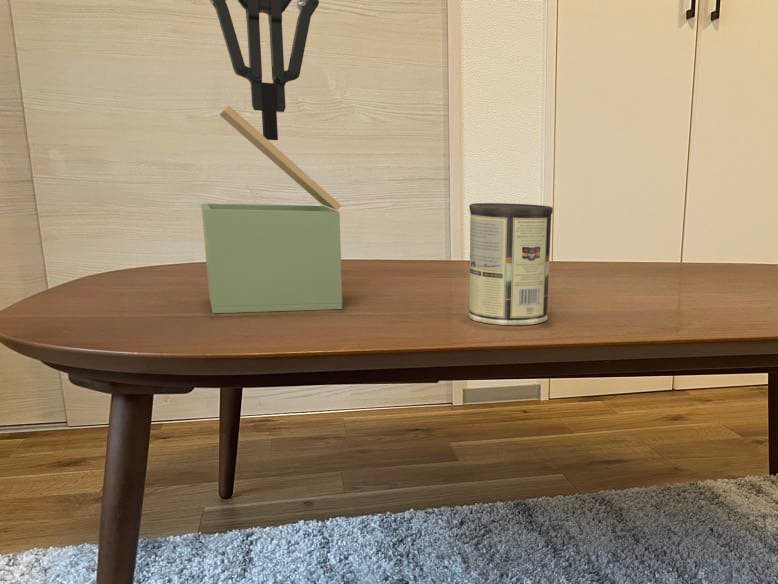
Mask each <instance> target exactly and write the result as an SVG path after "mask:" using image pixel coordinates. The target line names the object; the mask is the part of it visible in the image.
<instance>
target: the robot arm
mask: <svg viewBox="0 0 778 584" xmlns="http://www.w3.org/2000/svg"><path fill="white" fill-rule="evenodd" d="M227 1H228V0H209V2H210V4H211V5H212V6H213V7H214V9H215V12H216V15H217V19H218V22H219V26H220V28H221V32H222V35H223V38H224V42H225V45H226V48H227V52H228V56H229V59H230V62H231V66H232V68H233V72H234V74H235V75H236V76H238V77H241V78H244V79H246V80H248V82H249V84H250V90H251V91H250V94H251V95H250V96H251V107H252V109H253V111H261V123H262V135H263V136H264V137H265V138H266V139H267V140H268V141H279V133H278V130H279V129H278V115H277V113H284V112H285V110H286V89H285V87H286V84H287V83H289V82H291V81H296V80H297V79H298V78H299V77H300V75H301V71H302V70H301V69H302V65H303V59H304V55H305V54H304V53H305V49H306V44H307V39H308V32H309V29H310V25H311V24H310V23H311V19H312V16H313V14H314V12H315V11H316V10H317V8H318V6H319V4H320V1H319V0H296V8H297V10H298V11H299V13H298V15H297V20H296V25H295V30H294V35H293V41H292V46H291V52H290V57H289V62H288V67H287V69H286V70H285V59H284V38H283V37H284V36H283V13H284V12H285V11H286V9H287V8H288V6H289V5H290V4H291V2H292V1H293V0H237V2H238V3H239V5H240V6H241V7H242V9H244V10H245V20H246V21H245V22H246V30H247V31H246V32H247V49H248V50H247V51H248V52H247V53H248V66H247V65H246V64H245V61H244V57H243V53H242V50H241V48H240V43H239V40H238V37H237V34H236V29H235V27H234V23H233V20H232V17H231V13H230V9H229V7H228V4H227ZM262 13H263V14H266V15H267V17H268V19H267V20H268V28H269V29H268V30H269V42H270V43H269V45H270V63H271V65H270V66H271V80H272V82H263V67H262V65H263V64H262V46H261V45H262V44H261V28H260V14H262Z"/></svg>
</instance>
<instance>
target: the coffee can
mask: <svg viewBox="0 0 778 584" xmlns="http://www.w3.org/2000/svg"><path fill="white" fill-rule="evenodd" d="M468 207H469V213H470V216H469V217H470V222H469V223H470V224H469V225H470V226H469V309H468V310H469V311H468V312H469V313H468V318H469V320H472V321H475V322H479V323H482V324H489V325H497V326H498V325H499V326H530V325H538V324H542V323H545V322H547V321H548V318H549V317H548V302H549V279H550V258H551V257H550V254H551V236H552V235H551V234H552V233H551V232H552V214H553V212H554V208H553V207H552V206H551V205H541V204H528V203H506V202H505V203H503V202H501V203H500V202H497V203H496V202H478V203H470V204H469V206H468Z"/></svg>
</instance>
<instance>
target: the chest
mask: <svg viewBox="0 0 778 584" xmlns="http://www.w3.org/2000/svg"><path fill="white" fill-rule="evenodd" d="M201 215H202V226H203V239H204V252H205V263H206V275H207V276H206V277H207V288H208V298H209V303H210V307H211V310H212V311H211V312H212V314H236V313H237V314H238V313H266V312H267V313H269V312H295V311H296V312H299V311H326V310H327V311H328V310H329V311H330V310H343V284H342V283H343V282H342V280H343V279H342V250H341V249H342V248H341V219H340V218H341V217H340V215H341V214H340V211H339V210H335V209H333V208H330V207H327V206H325V205H304V204H303V205H302V204H300V205H299V204H295V205H294V204H253V203H252V204H249V203H248V204H247V203H245V204H244V203H202V202H201Z"/></svg>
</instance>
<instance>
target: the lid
mask: <svg viewBox="0 0 778 584" xmlns="http://www.w3.org/2000/svg"><path fill="white" fill-rule="evenodd" d="M219 116H220V117H221V118H222V119H223V120H225V121H226V122H227V123H228V124H229V125H230V126H232V127H233V128H234V129H235V130H236V131H237V132H239V134H241V135H242V136H243V137H244V138H245V139H246V140H248V142H250V143H251V144H252V145H253V146H254V147H255V148H257V150H259V151H260V152H261V153H262V154H263V155H264V156H266V157H267V158H268V159H269V160H271V162H273V163H274V164H275V166H277V167H279V169H280V170H282V171H283V172H284V173H285V174H286V175H288V176H289V177H290V178H291V179H292V180H293V181H294V182H295V183H297V184H298V185H299V186H300V187H301V188H302V189H303V190H305V192H307V193H308V194H309V195H311V197H313V198H314V199H315V201H317V202H318V203H320V204H321V206H325V207H328V208H330V209H333V210H335V211H339V209H340V208H341V206H342V204H341V203H340V202H338V201H337V200H336V199H335V198H334V197H333V196H331V194H330V193H329V192H327V191H326V190H325V189H324V188H323V187H322V186H320V185H319V184H318V183H317V182H316V181H315V180H314V179H312V178H311V177H310V176H309V175H308V174H307V172H304V171H303V170H302V169H301V168H300V167H299V166H298V165H297V164H296V163H295V162H293V161H292V160H291V159H290V158H289V157H288V156H286V155H285V154H284V153H283V151H281V150H280V149H279V148H278V147H276V146H275V145H274V144H273V143H272V142H271V140H267V139H266V138H265V137H264V136H263V133H260V131H258V129H256V128H255V127H254V126H253V125H252V124H250V122H248V121H247V120H246V119H245V118H244V117H242V115H241V114H239V113H238V112H237V111H236V110H235V109H233V107H231V106H230V105H227V106H225V107H224V108H223V109H222V110H221V112H219Z"/></svg>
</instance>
